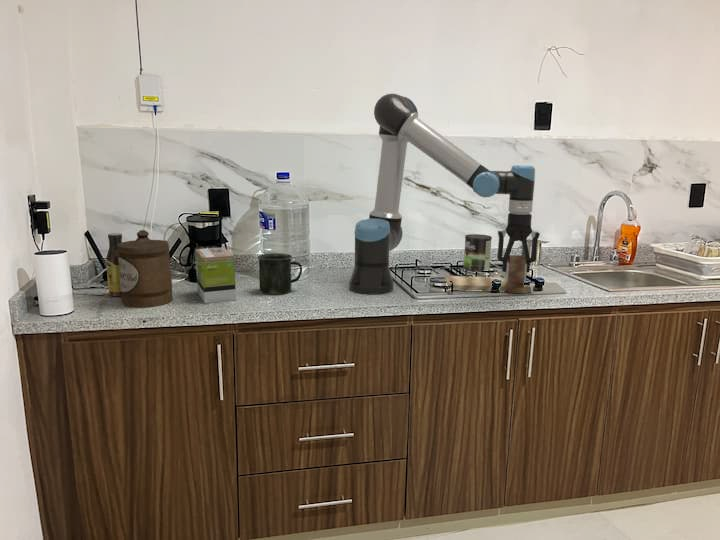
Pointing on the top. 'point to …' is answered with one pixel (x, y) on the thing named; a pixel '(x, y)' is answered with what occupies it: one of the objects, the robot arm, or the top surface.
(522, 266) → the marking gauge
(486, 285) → the birch board
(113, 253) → the sauce bottle
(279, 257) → the mug
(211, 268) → the tea box
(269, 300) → the top surface
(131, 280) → the wooden container
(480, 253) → the coffee can
